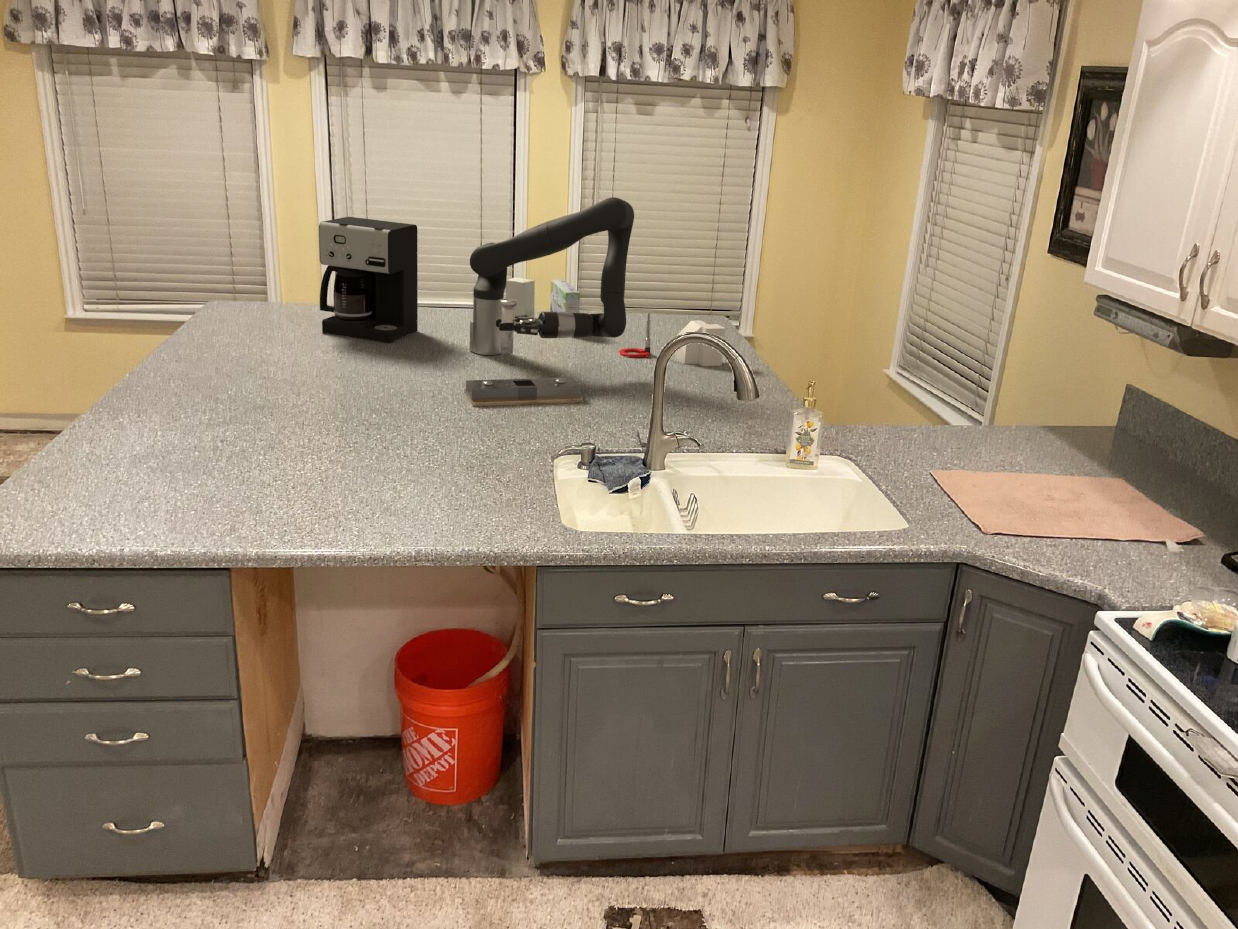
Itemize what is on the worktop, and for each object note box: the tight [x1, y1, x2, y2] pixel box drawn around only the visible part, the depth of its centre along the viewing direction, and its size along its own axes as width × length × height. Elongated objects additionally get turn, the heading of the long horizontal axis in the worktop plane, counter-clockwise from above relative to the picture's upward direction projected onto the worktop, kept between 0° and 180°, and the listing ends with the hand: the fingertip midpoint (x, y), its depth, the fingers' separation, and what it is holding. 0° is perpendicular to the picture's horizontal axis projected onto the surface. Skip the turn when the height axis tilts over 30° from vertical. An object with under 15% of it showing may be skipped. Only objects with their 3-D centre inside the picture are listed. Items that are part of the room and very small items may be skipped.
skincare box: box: [505, 276, 536, 322], centre depth 349 cm, size 8×7×16 cm
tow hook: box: [619, 312, 651, 359], centre depth 323 cm, size 9×14×10 cm
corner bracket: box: [674, 319, 726, 367], centre depth 320 cm, size 11×11×12 cm
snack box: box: [549, 279, 581, 313], centre depth 348 cm, size 21×6×15 cm, turn 17°
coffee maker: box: [318, 216, 419, 344], centre depth 322 cm, size 28×20×35 cm
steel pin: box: [500, 298, 517, 355], centre depth 285 cm, size 5×5×15 cm
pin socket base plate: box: [463, 376, 584, 407], centre depth 274 cm, size 30×12×5 cm, turn 109°
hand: (498, 324), depth 284 cm, fingers closed on steel pin, 3 cm apart
